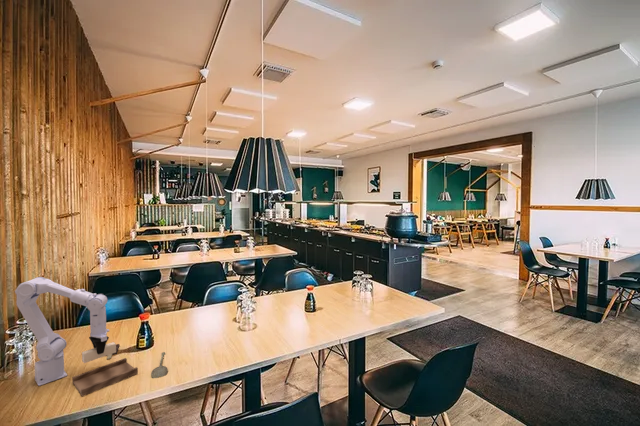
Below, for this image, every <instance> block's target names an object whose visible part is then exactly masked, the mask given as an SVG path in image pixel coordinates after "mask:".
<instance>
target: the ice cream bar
mask: <svg viewBox="0 0 640 426" xmlns="http://www.w3.org/2000/svg"><path fill="white" fill-rule="evenodd" d="M115 344H116V353H113V354H110V355H107V356H106V360H111V359H112V356H113V355H117V354H118V351H119V349H120V347H121V346H120V343H115Z"/></svg>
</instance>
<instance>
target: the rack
mask: <svg viewBox="0 0 640 426" xmlns="http://www.w3.org/2000/svg"><path fill="white" fill-rule="evenodd" d="M138 374H139V368H138V366H136V367H133V366H132V365H131V364H130V363H129V362H128V358H126V357H125V358H122V359H120V360H116V361H113V362H110V363H108V364H105V365H102V366H99V367H97V368H94V369H91V370H87V371H85V372H83V373H80V374H77V375H75V376H72V379H71V380H72V381H71V382H72V385H73V386H74V388H75V389H76V390H77V391H78V393H79V394H80V396H81V397H84V396H88V395H89V394H92V393H94V392H97V391H99V390H101V389H104V388H106V387H109V386H111V385H114V384H117V383H119V382H122V381H123V380H126V379H128V378H131V377H134V376H136V375H138Z"/></svg>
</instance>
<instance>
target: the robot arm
mask: <svg viewBox="0 0 640 426" xmlns="http://www.w3.org/2000/svg"><path fill="white" fill-rule="evenodd" d="M14 293H15V295H16V307H17V308H18V310H19V312H20V313H21V315H22V317H23V319H24V320H25V321H26V323H27V325H28V327H29V328H30V330H31V331H32V333H33V335H34V337H35V338H36V341H37V343H36V346H35V349H36V351H37V358H38V359H39V360H38V361H35V362H34V381H35V382H36V385H37V386H38V387H40V386H43V385H46V384H49V383H51V382H54V381H57V380H59V379H63V378H66V377H67V376H68V374H67V372H66V371H65V359H64V358H65V355H64V350H65V348H66V347H67V341H66V339H65V338H63V337H62V336H61V335H60V334H59V333H55V332H54V331H53V329H52V328H51V326H50V324H49V322H48V321H47V319H46V317H45V315H44V313H43V312H42V310H41V309H40V306H39V305H38V303H37V300H38V298H39V296H40V295H41V294H46V293H50V294H55V295H58V296H62V297H65V298H68V299H69V300H70V302H71V303H74V304H77V305H81V306H84V307H86V308H87V310H88V311H89V321H90V324H89V327H90V332H89V333H90V334H89V337H88V339H89V340H90V341H91V344H92V346H93V347H92V348H96V350H97V354H98V355H99V354H102V353H104V349H105V345H106V344H108V341H109V339H110V338H109V336H108V335H107V333H108V332H110V329H109V328H107V310H106V308H107V307H106V304H107V303H108V297H107V295H104V293H98V294H97V293H96V292H95V293H92V292H90V291H86V289H85V288H78V289H72V288H69V287H67V286H64V285H63V284H60V283H57V282H56V281H53V280H51V279H50V278H46V277H43V276H37V277H35V278H33V279H30V280H27V281H24V282H22V283H19V284H18V286H17V287H16V289H15V290H14Z"/></svg>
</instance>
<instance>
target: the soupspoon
mask: <svg viewBox="0 0 640 426" xmlns="http://www.w3.org/2000/svg"><path fill="white" fill-rule="evenodd" d="M165 355H166V352H165V351H163V352H161V358H160V360H159V361H160V362H159V365H158V366H156V367H154V368H153V369H152V370H151V371H150V377H151V378H152V379H159V378H162V377H165V376H166V375H167V374H168V367H167V366H165V365H163V364H162V363H163V358H164V356H165Z"/></svg>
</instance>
